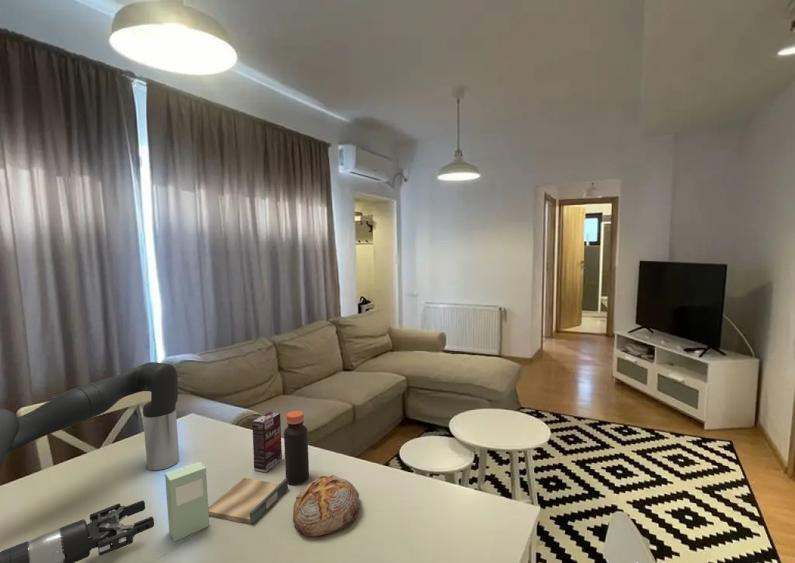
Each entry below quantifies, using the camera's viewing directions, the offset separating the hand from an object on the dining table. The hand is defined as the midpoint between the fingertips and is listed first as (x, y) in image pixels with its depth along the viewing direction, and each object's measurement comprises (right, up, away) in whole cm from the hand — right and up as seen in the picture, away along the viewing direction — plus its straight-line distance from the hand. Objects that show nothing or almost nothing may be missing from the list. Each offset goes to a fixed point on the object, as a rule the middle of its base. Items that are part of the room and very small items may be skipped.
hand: (149, 512), depth 96 cm
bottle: (+28, -6, +28) cm, 40 cm away
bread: (+40, -7, +11) cm, 42 cm away
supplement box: (+17, -5, +37) cm, 40 cm away
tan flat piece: (+16, -7, +17) cm, 25 cm away
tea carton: (+6, -8, +7) cm, 12 cm away
